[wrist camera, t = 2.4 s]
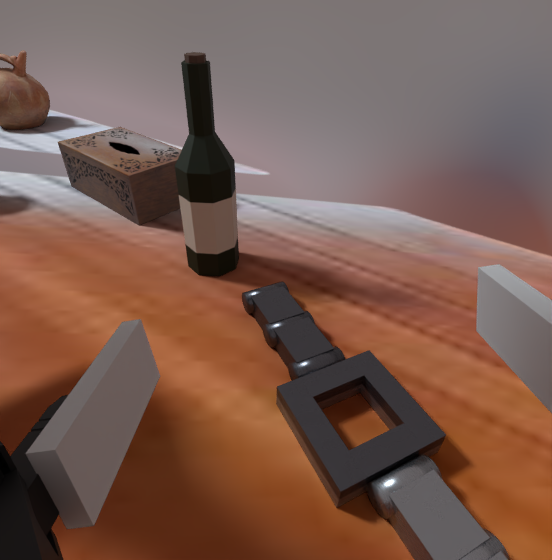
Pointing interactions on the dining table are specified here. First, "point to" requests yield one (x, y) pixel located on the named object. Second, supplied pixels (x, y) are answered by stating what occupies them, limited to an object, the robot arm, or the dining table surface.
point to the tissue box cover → (124, 172)
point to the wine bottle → (206, 179)
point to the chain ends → (376, 452)
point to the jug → (21, 96)
